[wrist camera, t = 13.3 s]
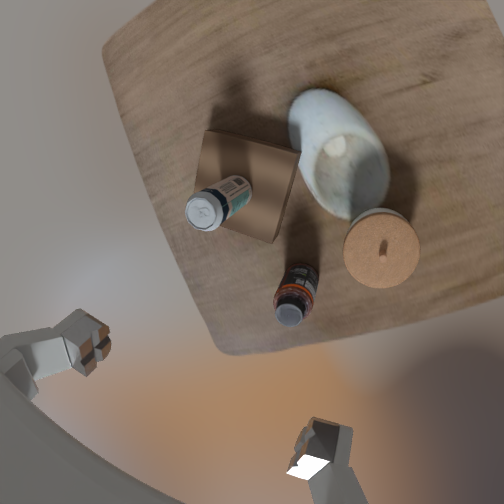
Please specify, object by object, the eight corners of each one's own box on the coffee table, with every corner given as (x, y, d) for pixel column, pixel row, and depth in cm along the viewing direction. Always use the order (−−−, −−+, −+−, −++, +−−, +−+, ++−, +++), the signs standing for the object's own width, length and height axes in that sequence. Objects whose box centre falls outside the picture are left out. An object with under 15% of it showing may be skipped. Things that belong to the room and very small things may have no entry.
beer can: (218, 178, 45) (176, 198, 34) (248, 171, 43) (212, 189, 32) (227, 208, 46) (189, 236, 36) (256, 203, 44) (224, 230, 34)
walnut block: (216, 129, 46) (205, 130, 42) (301, 151, 43) (296, 154, 40) (201, 208, 52) (190, 215, 49) (278, 234, 50) (271, 244, 46)
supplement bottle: (290, 295, 54) (273, 334, 44) (280, 265, 52) (261, 300, 42) (322, 290, 51) (313, 330, 41) (314, 259, 49) (303, 294, 40)
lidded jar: (424, 235, 42) (437, 261, 34) (374, 276, 47) (376, 308, 39) (380, 184, 41) (387, 199, 33) (330, 230, 47) (325, 255, 38)
